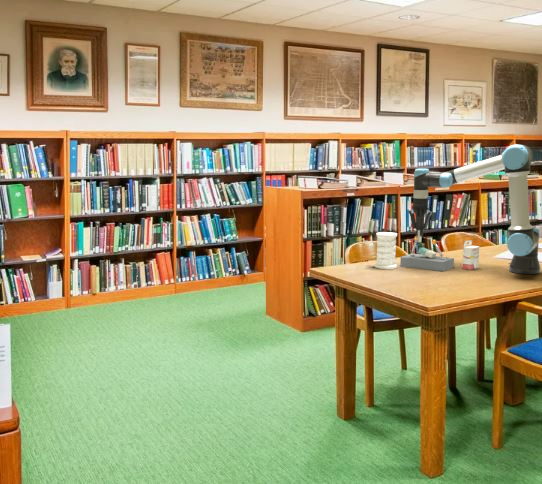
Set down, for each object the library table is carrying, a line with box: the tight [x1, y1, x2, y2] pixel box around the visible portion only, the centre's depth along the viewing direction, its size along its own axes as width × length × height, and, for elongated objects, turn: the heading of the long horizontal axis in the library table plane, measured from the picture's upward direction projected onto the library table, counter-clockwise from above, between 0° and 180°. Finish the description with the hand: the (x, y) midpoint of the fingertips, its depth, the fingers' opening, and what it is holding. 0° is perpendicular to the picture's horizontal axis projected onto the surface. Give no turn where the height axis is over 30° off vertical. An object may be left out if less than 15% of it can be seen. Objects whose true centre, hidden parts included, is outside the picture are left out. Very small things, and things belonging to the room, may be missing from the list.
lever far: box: [411, 235, 418, 254], centre depth 345 cm, size 3×3×10 cm
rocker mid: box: [417, 247, 438, 258], centre depth 342 cm, size 8×5×2 cm, turn 54°
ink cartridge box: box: [462, 239, 480, 271], centre depth 337 cm, size 9×5×15 cm, turn 134°
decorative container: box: [374, 231, 398, 270], centre depth 341 cm, size 12×12×18 cm
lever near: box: [431, 239, 444, 257], centre depth 338 cm, size 3×3×10 cm
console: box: [399, 253, 455, 272], centre depth 342 cm, size 24×14×6 cm, turn 53°
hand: (419, 242), depth 344 cm, fingers closed
